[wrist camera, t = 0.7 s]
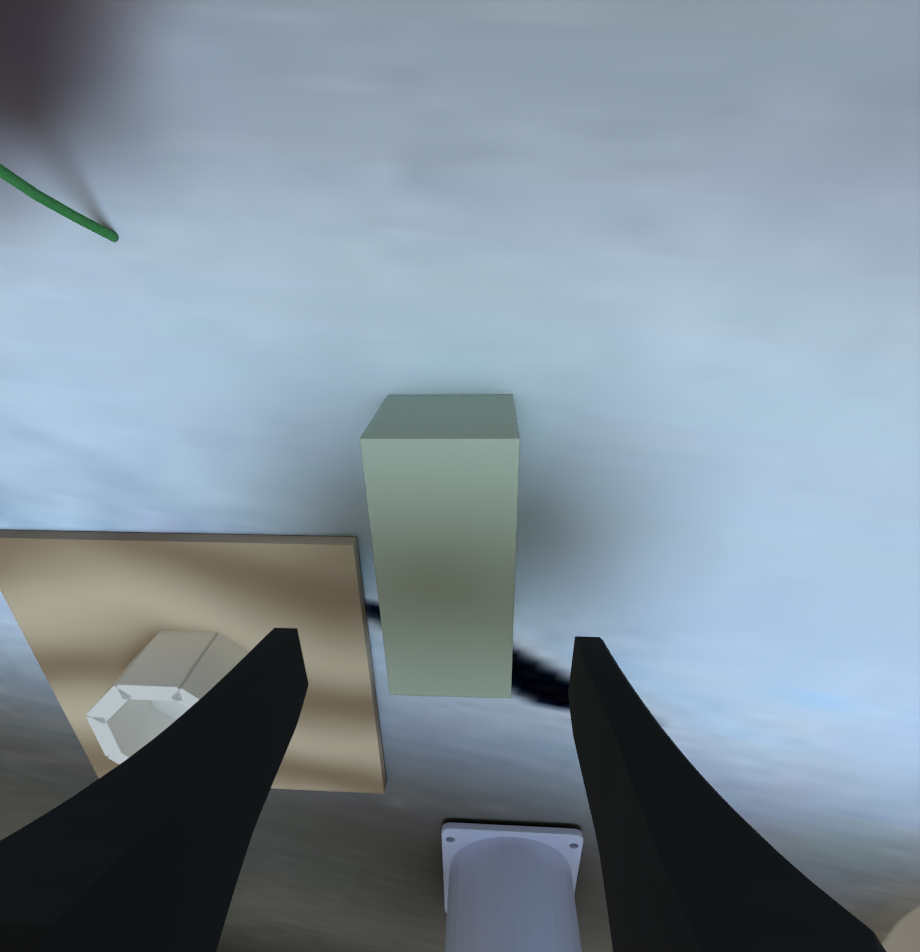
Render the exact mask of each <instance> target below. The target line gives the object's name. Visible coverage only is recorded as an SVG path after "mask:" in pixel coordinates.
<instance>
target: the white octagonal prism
mask: <svg viewBox="0 0 920 952" xmlns="http://www.w3.org/2000/svg"><path fill="white" fill-rule="evenodd" d="M247 654H248V652H247V651H245V650H244V649H242V648H241V647H239V646H238V645H236V644H235V643H233V642H232V641H230V640H229V639H227V638H226V637H224V636H223V635H221V634H220V633H218V634H217V635H216V632H199V631H166V630H162V631H161V632H160V631H159V632H158V633H157V634H156V635H155V636H154V637H153V639H152V640H151V641H150V642H149V643H148V644H147V645H146V646H145V647H144V648H143V649H142V650H141V651H140V652H139V653H138V654H137V656H136V657H135V658H134V659H133V660H132V661H131V662H130V663H129V665H128V666H127V667H126V668H125V669H124V671H123V672H122V673H121V674H120V675H119V676H118V678H117V679H116V680H115V681H114V682H113V684H112V685H111V686H110V687H109V688H108V689H107V691H106V692H105V693H104V694H103V695H102V696H101V698H100V699H99V700H98V701H97V702H96V704H95V705H94V706H93V707H92V708H91V709H90V711H89V712H88V713H87V714H86V715H87V716H86V718H87V720H88V722H89V724H90V726H91V728H92V730H93V732H94V734H95V736H96V738H97V740H98V742H99V744H100V746H101V748H102V750H103V752H104V754H105V756H109V757H108V758H109V759H110V760H112V761H114V762H116V763H118V764H121V763H122V762H124V761H125V760H126V759H128V758H129V757H131V756H132V755H133V754H134V753H136V752H137V751H138V750H140V749H141V748H142V747H144V746H145V745H146V744H147V743H149V742H150V741H151V740H153V739H154V738H155V737H156V736H158V735H159V734H160V733H161V732H163V731H164V730H165V729H166V728H167V727H169V726H170V725H171V724H172V723H173V722H175V721H176V720H177V719H178V718H179V717H180V716H181V715H183V714H184V713H185V712H186V711H187V710H188V709H189V708H191V707H192V706H193V705H194V704H195V703H196V702H197V701H198V700H200V699H201V698H202V697H203V696H204V695H205V694H206V693H207V692H208V691H209V690H211V689H212V688H213V687H214V686H215V685H216V684H217V683H218V682H219V681H220V680H221V679H222V678H223V677H224V676H225V675H226V674H227V673H228V672H230V671H231V670H232V669H233V668H234V667H235V666H236V665H237V664H238V663H239V662H240V661H241V660H242V659H243V658H244V657H245V656H246V655H247Z"/></svg>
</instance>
